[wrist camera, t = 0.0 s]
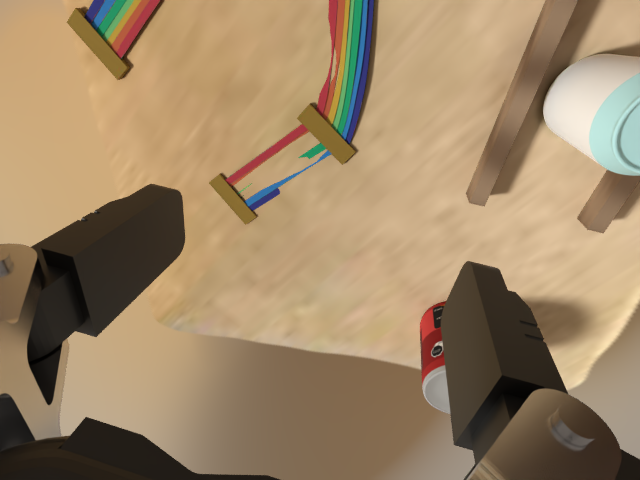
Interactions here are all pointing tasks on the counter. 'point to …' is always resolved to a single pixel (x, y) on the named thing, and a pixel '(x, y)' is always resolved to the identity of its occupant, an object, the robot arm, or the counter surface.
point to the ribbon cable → (324, 122)
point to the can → (599, 110)
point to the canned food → (433, 359)
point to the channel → (514, 110)
